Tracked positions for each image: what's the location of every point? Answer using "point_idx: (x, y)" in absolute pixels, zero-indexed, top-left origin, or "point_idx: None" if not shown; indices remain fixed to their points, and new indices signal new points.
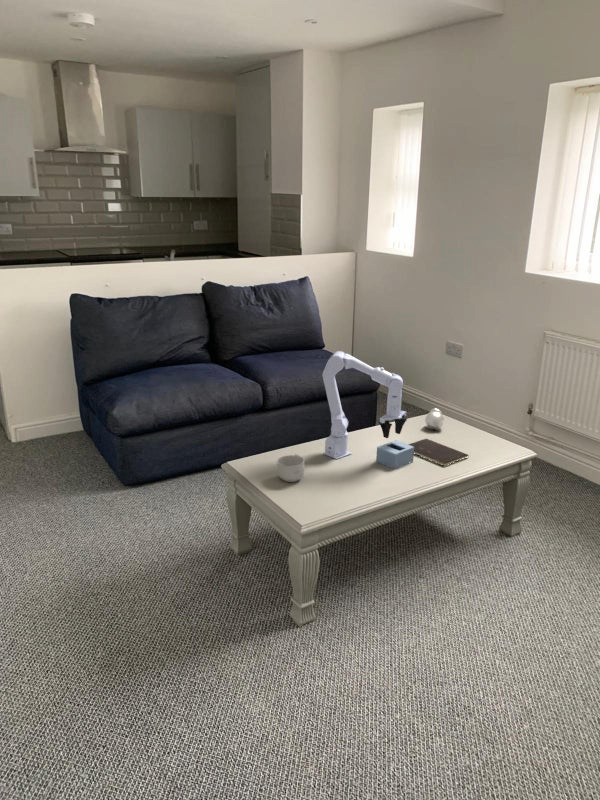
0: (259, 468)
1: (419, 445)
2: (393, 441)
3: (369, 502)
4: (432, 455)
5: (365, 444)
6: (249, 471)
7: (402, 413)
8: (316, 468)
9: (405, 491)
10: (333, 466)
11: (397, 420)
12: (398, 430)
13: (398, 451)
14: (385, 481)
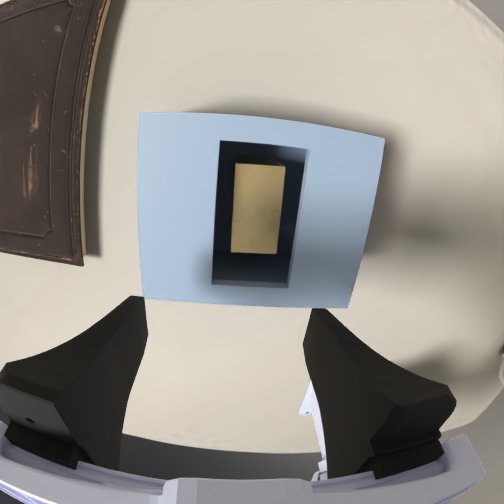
0: (484, 392)
1: (16, 213)
2: (175, 294)
3: None
4: (61, 71)
5: (187, 387)
6: (497, 388)
7: (30, 493)
8: (466, 344)
9: (473, 15)
10: (442, 330)
11: (108, 432)
12: (135, 329)
13: (327, 148)
14: (467, 108)
